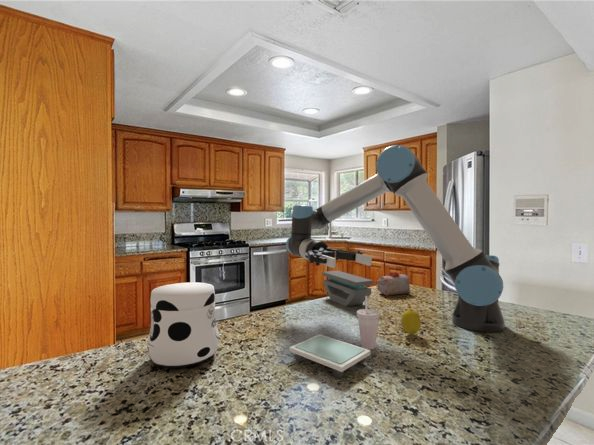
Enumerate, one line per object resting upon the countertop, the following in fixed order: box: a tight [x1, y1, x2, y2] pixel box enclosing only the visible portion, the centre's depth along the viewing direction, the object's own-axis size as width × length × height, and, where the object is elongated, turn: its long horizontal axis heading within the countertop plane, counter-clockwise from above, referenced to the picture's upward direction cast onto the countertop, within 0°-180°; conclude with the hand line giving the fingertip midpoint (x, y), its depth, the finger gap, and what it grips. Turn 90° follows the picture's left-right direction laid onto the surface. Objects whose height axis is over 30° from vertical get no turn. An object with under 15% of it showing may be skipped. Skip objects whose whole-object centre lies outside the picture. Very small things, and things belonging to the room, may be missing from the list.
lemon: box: [400, 308, 422, 336], centre depth 99 cm, size 6×6×8 cm
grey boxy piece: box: [376, 271, 411, 297], centre depth 151 cm, size 14×8×10 cm, turn 110°
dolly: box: [288, 333, 372, 379], centre depth 82 cm, size 16×12×4 cm
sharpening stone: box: [321, 270, 374, 307], centre depth 137 cm, size 25×8×11 cm, turn 26°
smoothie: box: [356, 296, 381, 350], centre depth 91 cm, size 6×6×14 cm
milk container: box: [146, 281, 220, 369], centre depth 85 cm, size 17×17×18 cm
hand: (353, 262), depth 97 cm, fingers open, 13 cm apart
